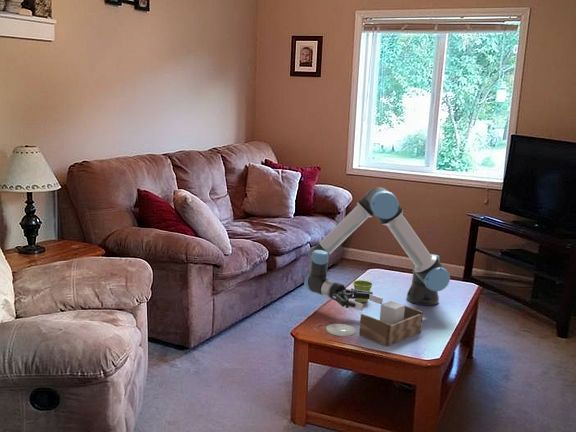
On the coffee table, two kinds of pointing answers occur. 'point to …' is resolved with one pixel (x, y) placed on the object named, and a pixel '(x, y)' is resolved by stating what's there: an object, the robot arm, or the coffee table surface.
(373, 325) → the walnut cubby
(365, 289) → the plant pot
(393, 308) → the supplement box
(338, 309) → the coffee table surface
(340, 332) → the cream coaster
